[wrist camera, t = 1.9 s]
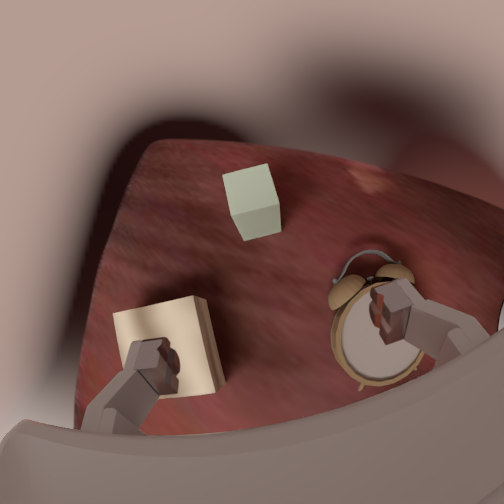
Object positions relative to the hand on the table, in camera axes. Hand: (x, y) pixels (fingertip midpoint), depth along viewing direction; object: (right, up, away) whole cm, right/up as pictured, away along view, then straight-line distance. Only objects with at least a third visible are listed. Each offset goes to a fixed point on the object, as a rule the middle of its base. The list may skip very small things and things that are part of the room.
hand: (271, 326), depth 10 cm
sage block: (0, +7, +23) cm, 24 cm away
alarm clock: (+13, -5, +19) cm, 23 cm away
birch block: (-10, -9, +20) cm, 24 cm away
